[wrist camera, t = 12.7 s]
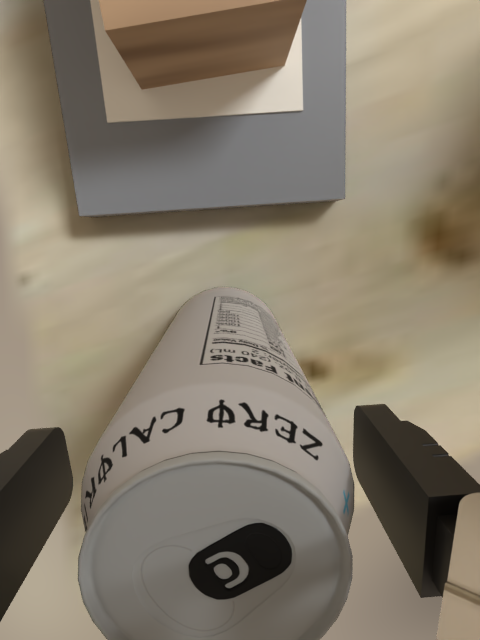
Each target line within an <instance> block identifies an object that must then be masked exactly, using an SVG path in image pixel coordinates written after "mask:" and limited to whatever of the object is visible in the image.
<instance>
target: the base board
mask: <svg viewBox="0 0 480 640" xmlns="http://www.w3.org/2000/svg"><path fill="white" fill-rule="evenodd" d="M44 6H45V12H46V18H47V24H48V30H49V36H50V43H51V49H52V55H53V61H54V67H55V73H56V79H57V85H58V91H59V97H60V103H61V109H62V115H63V121H64V127H65V133H66V139H67V145H68V151H69V157H70V163H71V169H72V175H73V181H74V187H75V193H76V199H77V205H78V211H79V216H84V217H100V216H115V215H130V214H145V213H161V212H176V211H191V210H206V209H221V208H236V207H252V206H267V205H282V204H297V203H312V202H327V201H338V200H342V199H345V125H346V0H307V1H306V4H305V7H304V10H303V13H302V16H301V19H300V22H299V25H298V28H297V31H296V34H295V37H294V40H293V42H292V45H291V48H290V51H289V54H288V57H287V60H286V63H285V65H284V66H278V67H273V68H267V69H261V70H255V71H249V72H243V73H237V74H231V75H226V76H220V77H214V78H208V79H202V80H196V81H190V82H184V83H179V84H173V85H167V86H161V87H155V88H149V89H143V90H142V89H141V88H140V86H139V84H138V83H137V81H136V80H135V78H134V76H133V75H132V73H131V71H130V70H129V68H128V67H127V65H126V63H125V62H124V60H123V59H122V57H121V55H120V54H119V52H118V51H117V49H116V47H115V46H114V44H113V43H112V41H111V39H110V38H109V36H108V35H107V33H106V31H105V28H104V23H103V19H102V14H101V10H100V5H99V0H44Z"/></svg>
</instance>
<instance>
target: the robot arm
mask: <svg viewBox="0 0 480 640" xmlns="http://www.w3.org/2000/svg"><path fill="white" fill-rule="evenodd" d="M353 461H354V467H355V472H356V475H357V478H358V480H359V482H360V484H361V486H362V488H363V490H364V492H365V494H366V496H367V497H368V499H369V501H370V503H371V505H372V507H373V509H374V511H375V512H376V514H377V516H378V518H379V520H380V522H381V523H382V526H383V527H384V529H385V531H386V533H387V535H388V537H389V539H390V540H391V543H392V544H393V546H394V548H395V550H396V552H397V554H398V556H399V557H400V559H401V561H402V563H403V565H404V567H405V569H406V571H407V573H408V574H409V576H410V578H411V580H412V582H413V584H414V586H415V588H416V589H417V591H418V593H419V595H420V597H421V598H423V597H434V596H442V598H443V599H442V605H441V612H440V618H439V624H438V630H437V636H436V640H480V485H479V484H478V483H477V482H476V481H475V480H474V479H473V478H472V477H471V476H470V475H469V474H468V473H467V472H466V471H465V470H464V469H463V468H462V467H461V466H460V465H459V464H458V463H457V462H456V461H455V460H454V459H453V458H452V457H451V456H449V455H448V453H447V452H446V451H445V450H444V449H443V448H442V447H441V446H438V443H437V442H436V441H435V440H434V439H433V438H432V437H431V436H430V435H429V434H428V433H427V432H426V431H425V430H423V429H422V428H420V427H418V426H416V425H414V424H412V423H411V422H409V421H400V420H399V419H398V418H397V416H396V415H395V414H394V413H393V412H392V411H391V410H390V409H389V408H388V407H387V406H386V405H385V404H377V405H363V406H356V408H355V410H354V438H353ZM72 489H73V476H72V471H71V466H70V461H69V456H68V451H67V446H66V441H65V436H64V433H63V431H62V429H61V428H59V427H55V428H42V429H30V430H28V431H26V432H25V433H24V434H23V435H22V436H21V437H20V438H19V439H18V440H17V442H15V444H13V445H12V446H11V447H10V448H9V450H6V451H4V452H3V453H1V454H0V621H1V620H2V618H3V616H4V614H5V612H6V611H7V609H8V607H9V606H10V603H11V602H12V600H13V599H14V597H15V595H16V593H17V592H18V590H19V588H20V586H21V585H22V583H23V581H24V579H25V578H26V576H27V574H28V572H29V571H30V569H31V567H32V566H33V564H34V562H35V560H36V558H37V557H38V555H39V553H40V552H41V550H42V548H43V546H44V545H45V543H46V541H47V539H48V538H49V536H50V534H51V532H52V531H53V529H54V527H55V526H56V524H57V522H58V520H59V519H60V517H61V515H62V513H63V512H64V510H65V508H66V506H67V505H68V503H69V501H70V498H71V495H72Z"/></svg>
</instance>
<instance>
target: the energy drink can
mask: <svg viewBox="0 0 480 640" xmlns="http://www.w3.org/2000/svg"><path fill="white" fill-rule="evenodd" d="M81 512H82V517H83V522H84V527H85V531H86V533H85V536H84V539H83V543H82V546H81V550H80V554H79V559H78V582H79V586H80V591H81V595H82V600H83V603H84V605H85V607H86V609H87V611H88V613H89V615H90V617H91V619H92V621H93V622H94V624H95V625H96V626H97V627H98V629H99V630H100V631H101V632H102V634H103V635H104V636H105V637H106V639H108V640H319V639H320V638H322V637H323V636H324V635H325V633H326V632H327V631H328V630H329V628H330V627H331V626H332V625H333V623H334V622H335V621H336V620H337V618H338V616H339V614H340V612H341V610H342V608H343V606H344V604H345V602H346V600H347V597H348V593H349V589H350V585H351V581H352V552H351V548H350V544H349V540H348V532H349V529H350V524H351V520H352V516H353V512H354V482H353V477H352V473H351V468H350V464H349V461H348V459H347V457H346V455H345V453H344V451H343V449H342V447H341V444H340V442H339V440H338V438H337V437H336V435H335V433H334V431H333V429H332V427H331V425H330V423H329V421H328V419H327V417H326V415H325V413H324V412H323V410H322V408H321V406H320V404H319V402H318V400H317V398H316V396H315V394H314V392H313V390H312V388H311V387H310V385H309V383H308V381H307V379H306V377H305V375H304V373H303V371H302V369H301V367H300V365H299V363H298V362H297V360H296V358H295V356H294V354H293V352H292V350H291V348H290V346H289V344H288V342H287V340H286V338H285V337H284V335H283V333H282V331H281V329H280V327H279V325H278V323H277V321H276V319H275V317H274V315H273V313H272V312H271V311H270V309H269V308H268V307H267V305H266V304H265V303H264V302H263V301H261V300H260V299H259V298H258V297H256V296H255V295H253V294H251V293H249V292H247V291H244V290H241V289H238V288H232V287H217V288H212V289H208V290H205V291H203V292H201V293H199V294H197V295H195V296H193V297H192V298H191V299H189V300H188V301H187V302H186V303H185V304H184V305H183V306H182V307H181V309H180V310H179V311H178V313H177V314H176V316H175V318H174V319H173V321H172V323H171V324H170V326H169V327H168V329H167V331H166V332H165V334H164V335H163V337H162V339H161V340H160V342H159V344H158V345H157V347H156V348H155V350H154V352H153V353H152V355H151V357H150V358H149V360H148V361H147V363H146V365H145V366H144V368H143V369H142V371H141V373H140V374H139V376H138V378H137V379H136V381H135V382H134V384H133V386H132V387H131V389H130V390H129V392H128V394H127V395H126V397H125V399H124V400H123V402H122V403H121V405H120V407H119V408H118V410H117V411H116V413H115V415H114V416H113V418H112V420H111V421H110V423H109V424H108V426H107V428H106V429H105V431H104V433H103V434H102V436H101V437H100V439H99V441H98V443H97V445H96V447H95V448H94V450H93V452H92V454H91V456H90V458H89V460H88V462H87V466H86V470H85V473H84V477H83V481H82V493H81Z"/></svg>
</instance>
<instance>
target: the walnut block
mask: <svg viewBox="0 0 480 640" xmlns="http://www.w3.org/2000/svg"><path fill="white" fill-rule="evenodd" d="M306 1H307V0H99V5H100V10H101V14H102V19H103V23H104V28H105V31H106V33H107V35H108V36H109V38H110V39H111V41H112V43H113V44H114V46H115V47H116V49H117V51H118V52H119V54H120V55H121V57H122V59H123V60H124V62H125V63H126V65H127V67H128V68H129V70H130V71H131V73H132V75H133V76H134V78H135V80H136V81H137V83H138V84H139V86H140V88H141V89H142V90H143V89H149V88H155V87H161V86H167V85H173V84H179V83H184V82H190V81H196V80H202V79H208V78H214V77H220V76H226V75H231V74H237V73H243V72H249V71H255V70H261V69H267V68H273V67H278V66H284V65H285V63H286V60H287V57H288V54H289V51H290V48H291V45H292V42H293V40H294V37H295V34H296V31H297V28H298V25H299V22H300V19H301V16H302V13H303V10H304V7H305V4H306Z"/></svg>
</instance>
